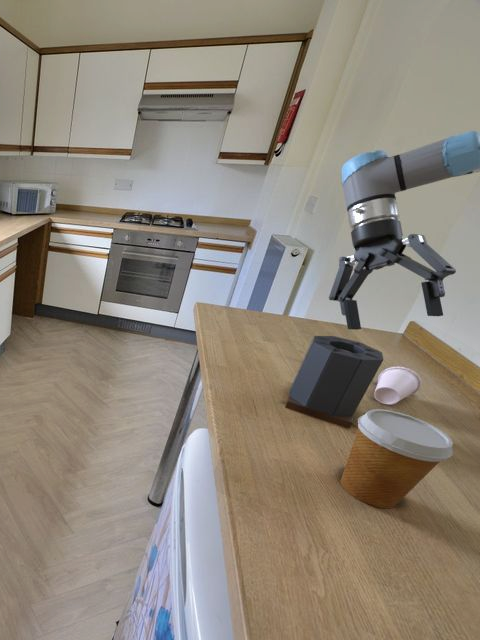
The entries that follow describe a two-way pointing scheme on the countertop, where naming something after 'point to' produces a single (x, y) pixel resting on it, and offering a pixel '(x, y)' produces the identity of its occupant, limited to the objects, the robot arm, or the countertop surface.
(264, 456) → the countertop surface
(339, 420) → the towel holder
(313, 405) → the grey hollow prism
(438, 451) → the disposable coffee cup
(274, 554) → the countertop surface
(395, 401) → the smoothie
